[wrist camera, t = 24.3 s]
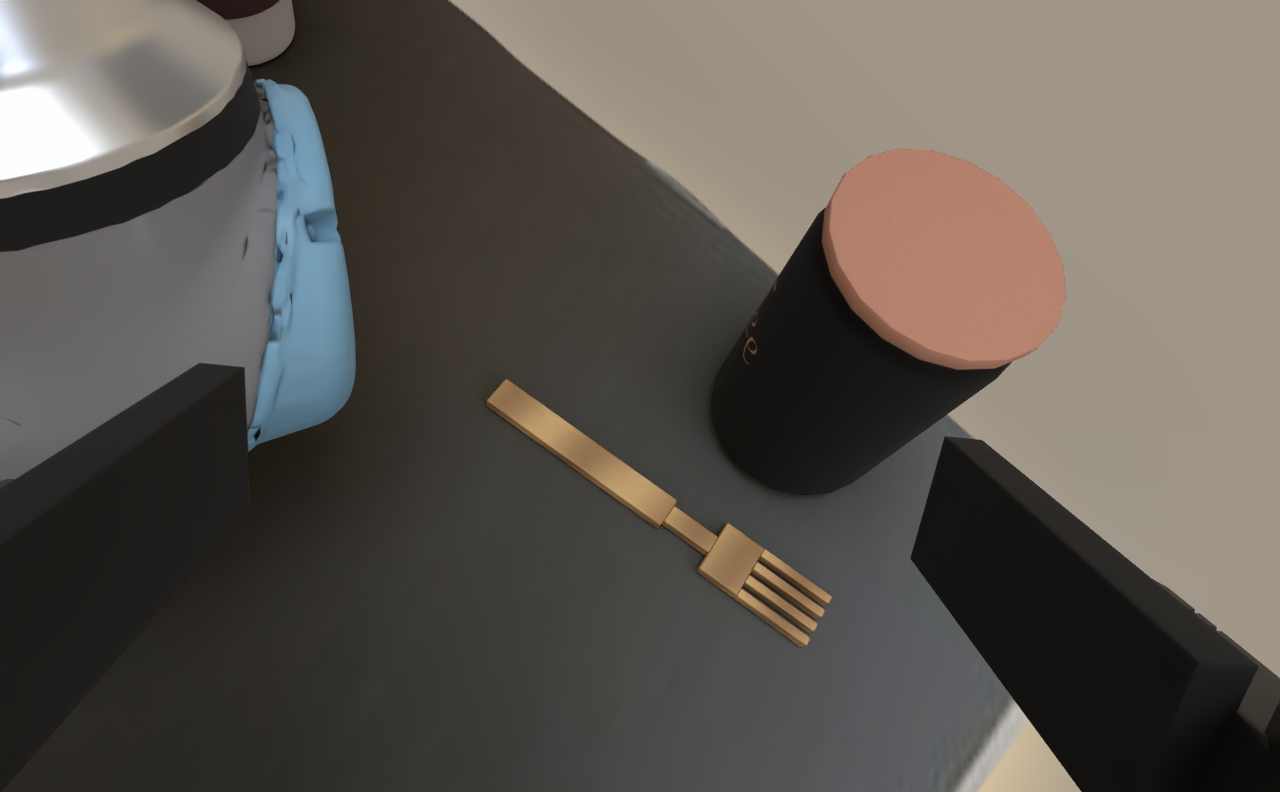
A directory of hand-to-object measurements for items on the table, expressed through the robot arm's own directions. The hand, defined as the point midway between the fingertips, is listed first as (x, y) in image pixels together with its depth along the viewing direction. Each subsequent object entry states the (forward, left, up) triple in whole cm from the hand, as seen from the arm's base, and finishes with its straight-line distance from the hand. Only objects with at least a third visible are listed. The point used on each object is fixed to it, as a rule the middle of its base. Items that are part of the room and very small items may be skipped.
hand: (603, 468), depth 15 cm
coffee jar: (+5, +20, -28) cm, 35 cm away
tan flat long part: (+1, +10, -27) cm, 29 cm away
